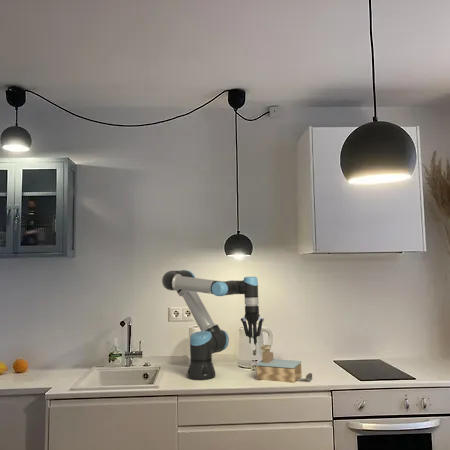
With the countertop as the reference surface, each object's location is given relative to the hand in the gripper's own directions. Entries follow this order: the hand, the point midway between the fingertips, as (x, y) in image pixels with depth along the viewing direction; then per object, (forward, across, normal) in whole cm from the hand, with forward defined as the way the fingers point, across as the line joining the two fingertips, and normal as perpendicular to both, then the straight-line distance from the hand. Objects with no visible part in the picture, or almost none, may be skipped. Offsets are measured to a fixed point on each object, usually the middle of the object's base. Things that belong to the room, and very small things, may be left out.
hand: (253, 349), depth 239 cm
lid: (+7, +14, 0) cm, 16 cm away
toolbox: (+14, +17, 0) cm, 22 cm away
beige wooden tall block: (+14, +1, +16) cm, 21 cm away
